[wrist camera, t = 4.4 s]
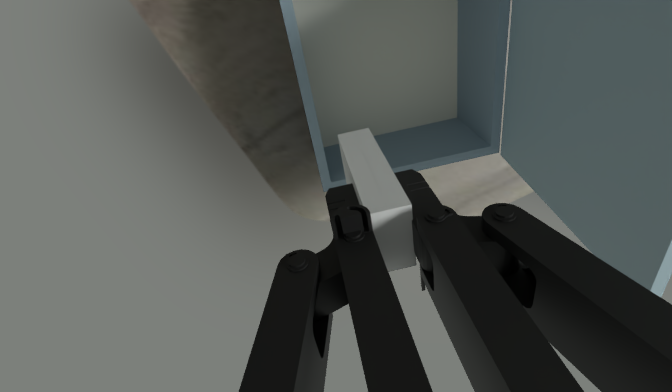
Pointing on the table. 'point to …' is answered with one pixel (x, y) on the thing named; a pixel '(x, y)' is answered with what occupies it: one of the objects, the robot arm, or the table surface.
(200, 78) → the table surface
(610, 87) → the lid
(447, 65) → the box
